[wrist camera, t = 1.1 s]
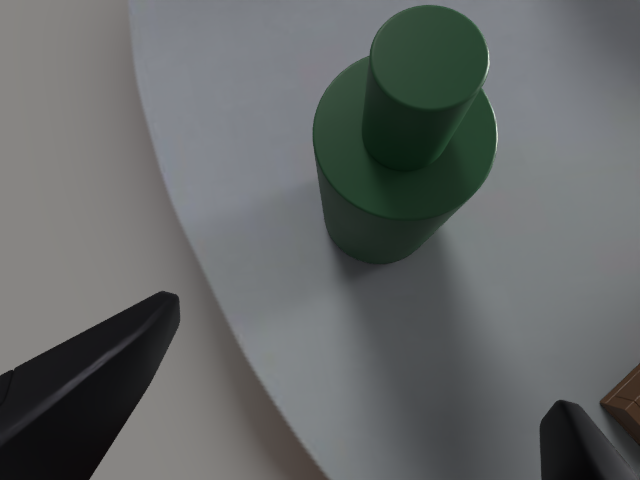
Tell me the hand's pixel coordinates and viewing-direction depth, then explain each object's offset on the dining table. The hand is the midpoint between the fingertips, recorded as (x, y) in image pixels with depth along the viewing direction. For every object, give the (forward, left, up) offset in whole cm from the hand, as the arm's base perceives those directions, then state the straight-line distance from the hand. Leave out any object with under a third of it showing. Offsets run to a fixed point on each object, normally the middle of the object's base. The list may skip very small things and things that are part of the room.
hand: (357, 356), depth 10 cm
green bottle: (+7, +1, -13) cm, 15 cm away
